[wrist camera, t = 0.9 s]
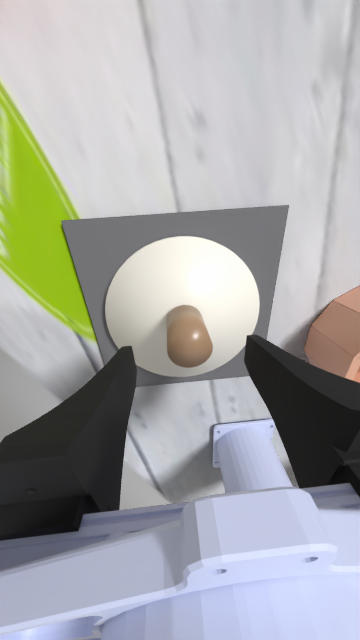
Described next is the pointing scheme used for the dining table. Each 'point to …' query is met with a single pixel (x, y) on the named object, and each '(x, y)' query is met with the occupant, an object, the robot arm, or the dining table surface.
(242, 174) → the dining table surface
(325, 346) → the bowl
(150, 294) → the lid
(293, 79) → the dining table surface
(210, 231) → the mat
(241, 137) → the dining table surface
